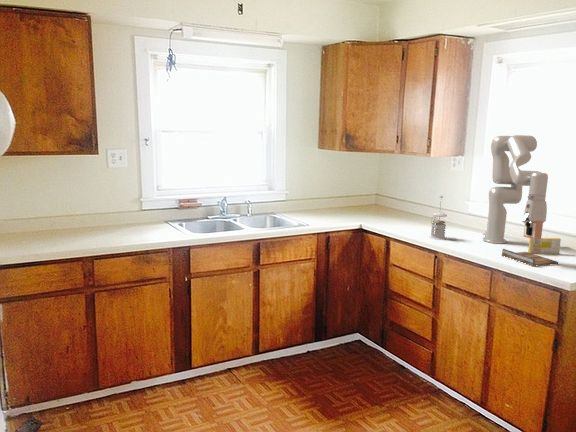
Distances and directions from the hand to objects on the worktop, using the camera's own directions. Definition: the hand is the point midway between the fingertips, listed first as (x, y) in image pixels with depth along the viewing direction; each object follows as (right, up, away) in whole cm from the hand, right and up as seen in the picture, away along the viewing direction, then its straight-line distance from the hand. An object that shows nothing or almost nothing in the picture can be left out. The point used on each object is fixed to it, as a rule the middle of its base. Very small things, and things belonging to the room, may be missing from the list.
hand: (532, 234), depth 248 cm
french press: (-33, -4, +47) cm, 58 cm away
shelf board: (0, -13, +3) cm, 13 cm away
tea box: (0, -2, 0) cm, 2 cm away
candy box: (+14, -11, +18) cm, 25 cm away
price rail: (-7, -12, 0) cm, 14 cm away
